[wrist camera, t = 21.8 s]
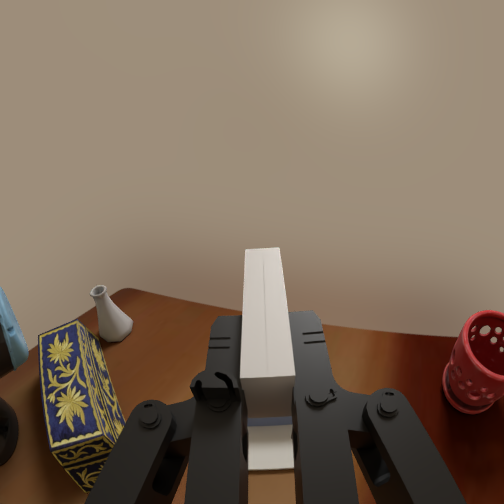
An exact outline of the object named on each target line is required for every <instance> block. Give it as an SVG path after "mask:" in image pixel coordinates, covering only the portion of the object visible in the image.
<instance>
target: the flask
mask: <svg viewBox="0 0 504 504" xmlns="http://www.w3.org/2000/svg"><path fill="white" fill-rule="evenodd" d="M106 290H107V288H106V287H105V286H103V285H98V286H96V287H94V288H93V289H92V290H91V292H90V296H92V297H93V298H94V301H95V303H96V307H97V312H98V322H99V334H100V337H102V338H103V339H104V340H106V341H107V342H117V341H122V340H123V339H124V338H125V337H126V336H127V335H128V334H129V333H130V332H131V330H132V325H133V321H132V320H131V319H130V318H129V317H128V316H127V315H126V314H124V313H123V312H122V311H121V310H120V309H119V308H118V307H117V306H116V305H115V304H114V303H113V302H112V300H111V299H110V298H109V296H108V294H107V292H106Z"/></svg>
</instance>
